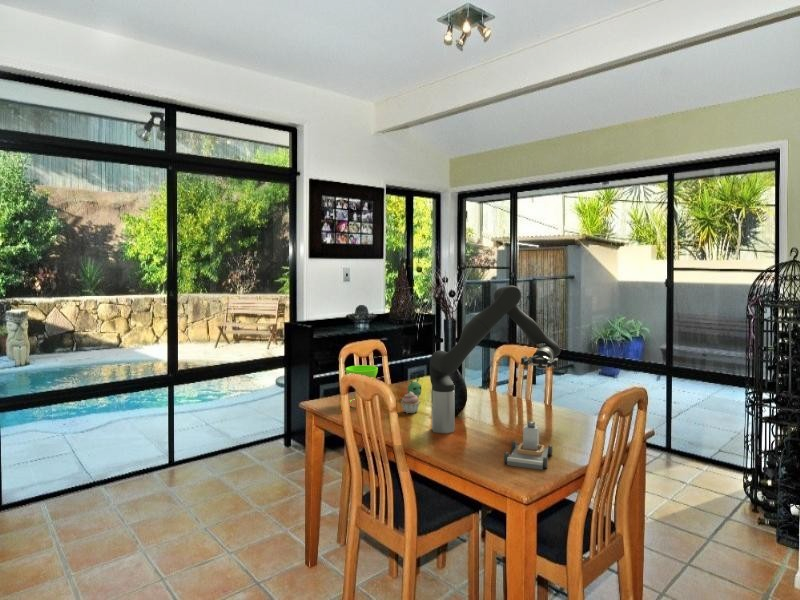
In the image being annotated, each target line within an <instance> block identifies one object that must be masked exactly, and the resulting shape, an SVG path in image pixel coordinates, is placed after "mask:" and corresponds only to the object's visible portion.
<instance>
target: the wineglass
mask: <svg viewBox="0 0 800 600" xmlns="http://www.w3.org/2000/svg"><path fill="white" fill-rule="evenodd" d="M378 369H379V368H378V366H374V365H361V364H360V365H351V366H347V367H345V374H346V375H347V374H349V373H355V374H361V375H366V376H369V377H374V379H375V378H376V377H377V374H378V372H379V370H378ZM355 399H356V398H354V399H350V400H349V401H350V402H351V401H352V400H355Z"/></svg>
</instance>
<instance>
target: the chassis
mask: <svg viewBox="0 0 800 600" xmlns="http://www.w3.org/2000/svg"><path fill="white" fill-rule="evenodd" d="M553 449H554V447H553V445H551V444H549V445H548V447H547V448H546V447H545V445H544V444H539V450H538V451H530V450H523V441H522V442H520V444H517V441H516V440H512V441H511V451H512V452H511V454H510V451H505V452H504V454H503V455H504V456H503V462H504V463H506V465H507V466H512V467H519V468H526V469H534V470H535V469H536V470H541V471H542V470H543V469H547V468H548V464H549V463H548V462H549V456H553V453H554V451H553Z"/></svg>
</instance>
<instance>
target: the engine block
mask: <svg viewBox="0 0 800 600" xmlns="http://www.w3.org/2000/svg"><path fill="white" fill-rule="evenodd" d="M522 442H523V450H530V451H538V450H539V445H540V424H536V422H535V421H531V420H530V421H529V420H528V421H527V423H524V426H523V427H522Z"/></svg>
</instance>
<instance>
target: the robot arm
mask: <svg viewBox="0 0 800 600" xmlns="http://www.w3.org/2000/svg"><path fill="white" fill-rule="evenodd" d="M521 299H522V292H521V289H520V288H519V287H517V286H515V285H506V286H502V287H499V288H498V289H496V290H495V291H494V293H493V302H492V303H491V304H490V305H489V306H487V307H486V308H484V309H483V310H481V311H479V312H478V313H477V314H476V315H475V316H473V317H472V318H471V319H470V320H469V321H468V322H467V323H466V324H465V326H464V327H463V328H462V331H461V335H460V338H459V340H458V342H457V343H456V344H455V345H454V346H453V347H452V348H451V349H449V351H445V350H436V351H435V352H433V353H432V354H431V357H430V360H429V377H430V384H431V387H432V397H431V398H432V400H431V402H432V403H431V405H432V406H431V430H432V433H437V434H450V433H454V432H455V427H456V426H455V425H456V424H455V423H456V421H455V418H456V417H455V415H456V414H455V398H456V397H455V395H456V394H455V385H454V383H453V382H454V381H453V380H452V379H451V376H450V375H452V374H454V373H455V372H456V371H457V370H458V369H459V367H460V366H461V365H462V363H464V361H465V360H466V358H467V357H468V355H470V353H471V352H472V351H473V350H474V349H475V348H476V347H477V346H478V345H479V344H480V342H481V341H483V340H484V338H486V336H487V335H488V334H489V333H490V332H491V331H492V330H493V329H494V328H495V326H496V325H497V324H498V323H499V322H500V321H501V320H502V319H503V318H504V317H505V315H507V316H509V318H510V319H511V320H512V321H513V322H514V323H515V324H516V326H517V327H519V329H520V330H521V331H522V332H523V333H524V335H525V336H526V338H527V339H528V340H529V342H530V343H531V344H532V345H535V346H537V345H540V344H542V345H541V346H540V347H538V348H537V349H536V350H535V352H534V353H533V355H531V356H529V357H528V356H527V355H524V356H522V357H521V358H520V364H521V365H522V366H523V365H524V366H525V367H528V366H535V367H536V368H539V369H545V368H547V369H549V368H551V367H552V368H553V367H555V368H557V367H558V365H559V355H560V354H561V347H560V345H559V344H558V342H556V341H554V340H553V339H552V338H550V337H549V336H548V335H547V334H546V333H545V332H544V331H543V330H542V328H541V327H540V326H539V324H538V323H537V322H536V321H535V320H534V319H533V318H532V317H530V316H529V315H528V314H527V313H525V312H524V311H522V309H520V306H518V304H519V303H520V301H521ZM557 356H558V357H557Z"/></svg>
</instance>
